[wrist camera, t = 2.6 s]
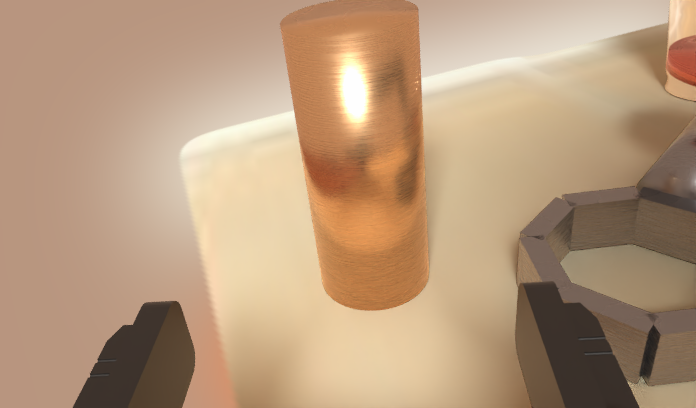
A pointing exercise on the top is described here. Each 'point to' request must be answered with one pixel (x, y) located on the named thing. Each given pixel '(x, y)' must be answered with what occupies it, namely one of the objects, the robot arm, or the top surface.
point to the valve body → (625, 228)
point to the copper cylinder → (362, 145)
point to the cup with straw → (684, 20)
